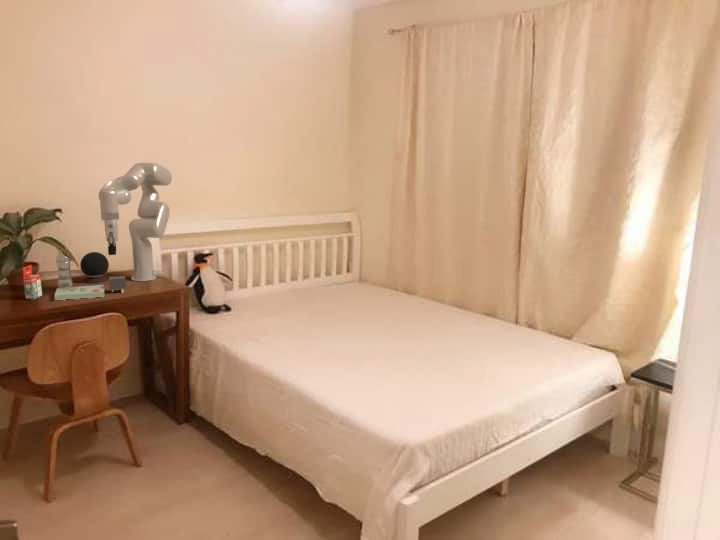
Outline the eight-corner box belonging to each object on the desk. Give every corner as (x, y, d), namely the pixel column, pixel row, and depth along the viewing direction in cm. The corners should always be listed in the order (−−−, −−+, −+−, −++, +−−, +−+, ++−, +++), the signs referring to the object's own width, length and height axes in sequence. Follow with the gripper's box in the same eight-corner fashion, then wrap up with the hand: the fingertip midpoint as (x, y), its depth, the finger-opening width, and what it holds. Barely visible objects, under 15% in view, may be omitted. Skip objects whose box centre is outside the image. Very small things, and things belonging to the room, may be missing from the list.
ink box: (42, 295, 257) (39, 264, 254) (33, 300, 249) (30, 268, 246) (34, 295, 257) (31, 264, 254) (25, 300, 249) (21, 267, 246)
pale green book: (104, 289, 270) (103, 283, 269) (104, 297, 256) (103, 290, 255) (57, 293, 261) (56, 286, 261) (54, 301, 248) (54, 293, 247)
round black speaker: (82, 279, 290) (80, 250, 287) (110, 277, 296) (108, 249, 292) (80, 284, 279) (78, 255, 276) (109, 282, 284) (107, 253, 281)
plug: (125, 290, 270) (124, 276, 268) (126, 292, 265) (125, 278, 264) (110, 291, 267) (109, 277, 266) (110, 293, 262) (109, 279, 261)
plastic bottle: (74, 286, 274) (70, 246, 270) (72, 289, 268) (68, 248, 264) (59, 287, 272) (55, 246, 268) (57, 290, 266) (53, 249, 262)
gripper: (118, 218, 253) (121, 255, 256) (118, 214, 268) (121, 249, 272) (100, 218, 250) (103, 256, 253) (101, 214, 265) (104, 250, 269)
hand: (112, 253), depth 262 cm, fingers open, 9 cm apart
